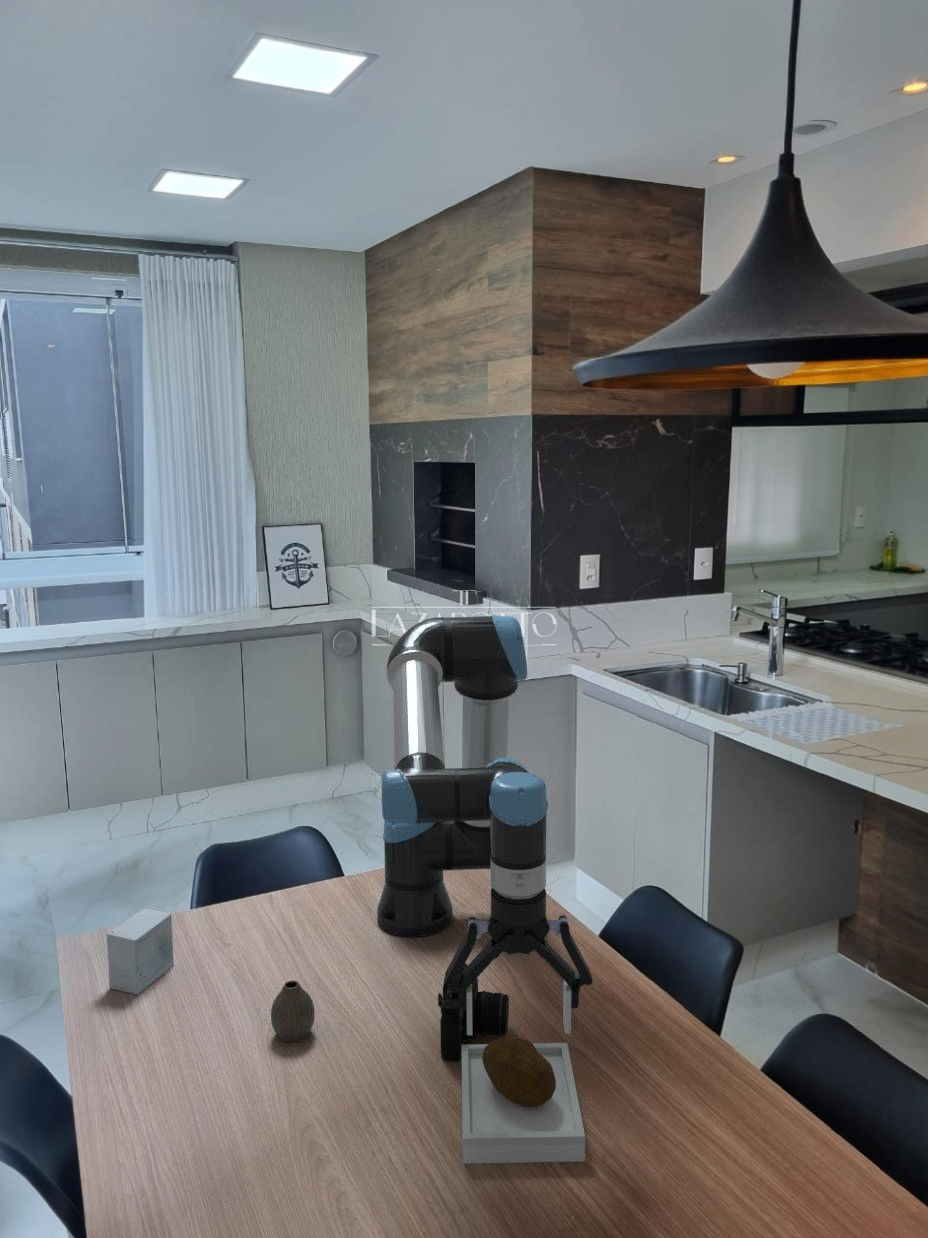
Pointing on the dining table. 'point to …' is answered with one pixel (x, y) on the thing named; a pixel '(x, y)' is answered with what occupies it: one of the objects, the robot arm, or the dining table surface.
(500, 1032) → the camera
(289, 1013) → the vase
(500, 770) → the robot arm
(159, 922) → the skincare box
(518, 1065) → the potato
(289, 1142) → the dining table surface
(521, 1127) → the tray
